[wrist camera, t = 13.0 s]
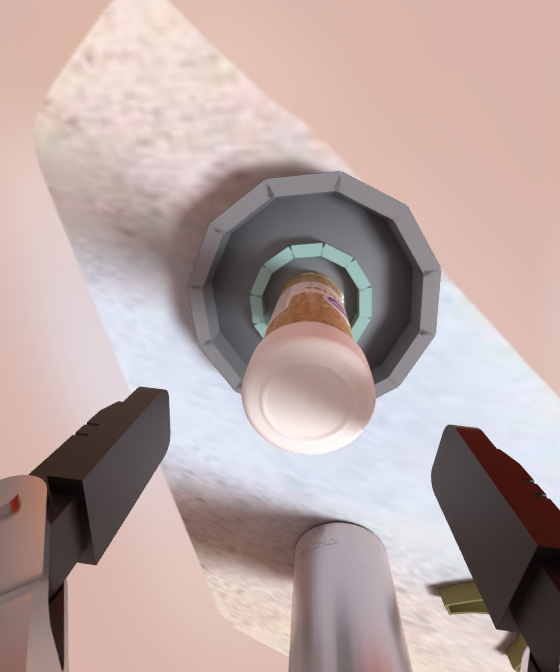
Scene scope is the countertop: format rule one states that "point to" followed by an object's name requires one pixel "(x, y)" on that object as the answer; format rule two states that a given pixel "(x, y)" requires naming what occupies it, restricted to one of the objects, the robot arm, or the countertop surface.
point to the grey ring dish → (316, 271)
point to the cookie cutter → (470, 601)
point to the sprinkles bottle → (309, 372)
